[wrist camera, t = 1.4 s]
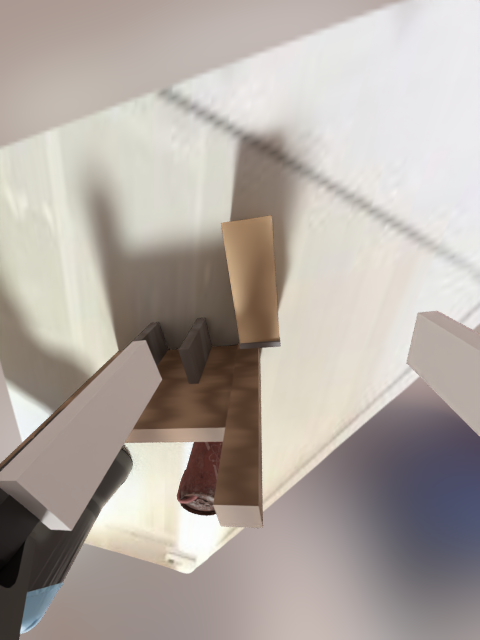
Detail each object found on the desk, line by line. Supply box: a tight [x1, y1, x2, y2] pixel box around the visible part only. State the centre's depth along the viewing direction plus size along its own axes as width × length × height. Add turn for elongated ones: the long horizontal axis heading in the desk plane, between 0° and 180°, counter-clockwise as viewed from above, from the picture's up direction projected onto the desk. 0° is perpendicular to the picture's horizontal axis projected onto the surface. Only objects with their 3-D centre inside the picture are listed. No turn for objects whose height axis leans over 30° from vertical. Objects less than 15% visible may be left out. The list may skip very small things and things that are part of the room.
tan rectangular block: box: [221, 215, 281, 349], centre depth 24 cm, size 5×13×7 cm, turn 8°
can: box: [177, 442, 223, 516], centre depth 33 cm, size 6×6×14 cm
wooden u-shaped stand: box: [0, 318, 263, 528], centre depth 23 cm, size 23×8×20 cm, turn 98°
